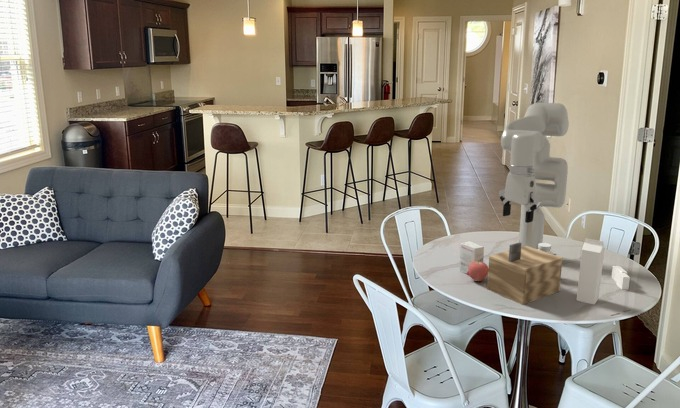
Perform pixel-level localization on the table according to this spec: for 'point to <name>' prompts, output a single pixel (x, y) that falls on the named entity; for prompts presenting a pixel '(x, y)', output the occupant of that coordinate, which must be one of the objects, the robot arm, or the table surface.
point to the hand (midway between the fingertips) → (517, 218)
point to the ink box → (470, 255)
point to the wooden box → (524, 281)
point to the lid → (525, 257)
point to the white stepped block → (620, 277)
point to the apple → (478, 271)
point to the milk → (590, 271)
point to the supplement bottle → (545, 247)
